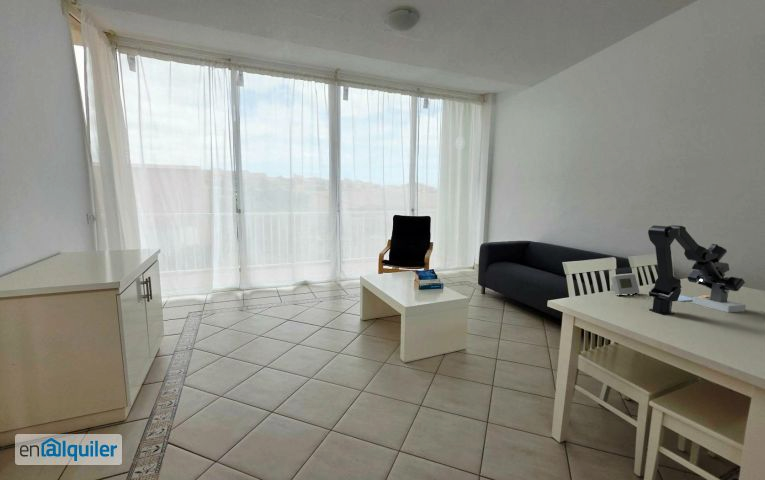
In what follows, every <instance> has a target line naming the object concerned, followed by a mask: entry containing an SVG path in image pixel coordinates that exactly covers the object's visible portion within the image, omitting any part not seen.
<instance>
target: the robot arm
mask: <svg viewBox="0 0 765 480" xmlns="http://www.w3.org/2000/svg"><path fill="white" fill-rule="evenodd" d="M647 235H648V239H649V241H650V242H651V244H653V246H654V248H655V255H656V264H657V273H658V276H657V279H655V281H654V285H653V286H652V288H651V289H650V290H649V291H648V296H649V297H651V298H653V301H652V308H648V311H652V312H654V313H656V314H660V315H675V313H676V312H674V311H672V308H673V303H674V302H678V301H677V300H678V298H679V295H681V293H682V292H681V291H682V285H681V284H682V282H681V279H680V278H677V277H675V276H674V268H673V257H672V249H671V245H672V244H673V242H674V240H675V241H676V242H677V243H678V244H679V245H680V246H681V247H682V249H684V253H683V254H684V256H685V258H686V260H688V261H691V262H694V263H693V265H692V267H691V269H692V271H691V272H690V273H689V274H688V275H687V277H686V278H687V281H688V282H689V283H695V284H696V283H697V284H698V285H701V286H703V287H705V288H708V289H709V290H711V288H712V283H713V284H716V283H717V284H722V285H721V286H720V288H719V289H721V290H722V291H723V292H725V293H726V294H728V295H729V293H730V291H731V292H738V291H739V290H741V288H742V286H744V285H745V283H746V282H745V280H744V278H742V277H738V276H730V277H728V276H727V277H725V276H726V274H725V273H727V272H729V271H730V265H729V263H727V262H722V261H721V260H722V259H723V257H724V256H725V255H726V254H727V253H728V251H727V249H726V248H724V247H722V246H720V245H719V244H717V243H711V245H710V246H709V247H708V249H707V248H706V246H705V247H704V246H702V245H699V244H698V243H697V242H696V240H695V239H694V238H693V237H692V236H691V235H690V233H689V232H688V231H687V228H686V227H685V226H683V225H675V224H673V225H656V224H655V225H652V226H651V227H650V228H649V229H648V231H647ZM722 276H723V277H724V278H722ZM663 294H664V295H663ZM665 295H668V296H665Z"/></svg>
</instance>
